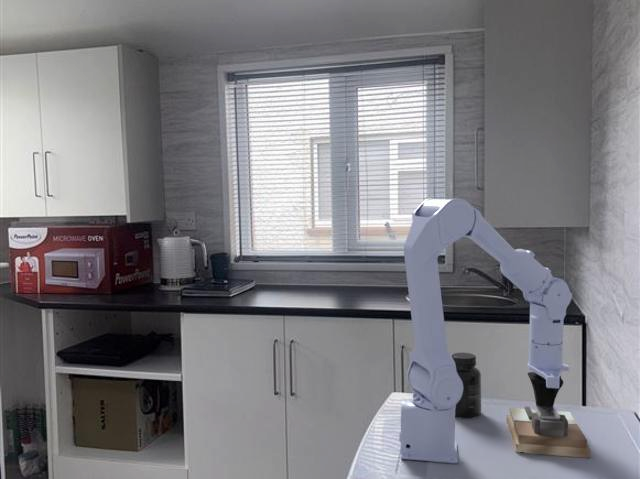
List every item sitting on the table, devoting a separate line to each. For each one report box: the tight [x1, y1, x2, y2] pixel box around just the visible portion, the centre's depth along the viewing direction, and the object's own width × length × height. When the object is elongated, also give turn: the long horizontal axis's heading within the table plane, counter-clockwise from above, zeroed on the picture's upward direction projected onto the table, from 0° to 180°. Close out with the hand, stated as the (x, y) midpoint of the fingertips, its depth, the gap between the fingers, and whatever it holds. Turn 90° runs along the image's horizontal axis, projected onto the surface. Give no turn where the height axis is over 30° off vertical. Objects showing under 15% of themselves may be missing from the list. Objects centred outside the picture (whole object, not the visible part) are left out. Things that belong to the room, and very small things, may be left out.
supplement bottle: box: [451, 352, 482, 419], centre depth 115 cm, size 7×7×12 cm
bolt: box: [536, 406, 560, 421], centre depth 100 cm, size 3×5×3 cm, turn 168°
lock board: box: [506, 405, 591, 459], centre depth 102 cm, size 12×13×6 cm
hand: (544, 413), depth 104 cm, fingers closed
